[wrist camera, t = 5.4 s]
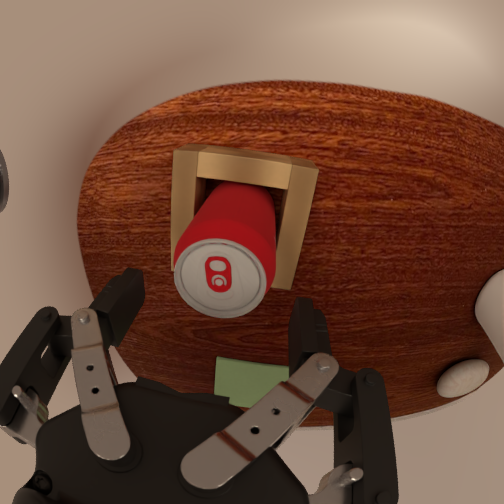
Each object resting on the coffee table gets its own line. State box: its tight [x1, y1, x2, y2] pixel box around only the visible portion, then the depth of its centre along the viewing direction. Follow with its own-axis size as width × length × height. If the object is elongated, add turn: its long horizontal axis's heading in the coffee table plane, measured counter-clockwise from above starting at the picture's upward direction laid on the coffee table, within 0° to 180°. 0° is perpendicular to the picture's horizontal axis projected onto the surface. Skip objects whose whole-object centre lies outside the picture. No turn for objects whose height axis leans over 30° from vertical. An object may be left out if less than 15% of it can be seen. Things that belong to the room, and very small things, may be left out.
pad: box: [214, 357, 289, 408], centre depth 39 cm, size 16×13×1 cm
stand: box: [171, 144, 319, 290], centre depth 24 cm, size 11×11×4 cm
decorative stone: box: [437, 359, 489, 397], centre depth 34 cm, size 13×9×5 cm
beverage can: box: [173, 180, 276, 318], centre depth 20 cm, size 6×6×12 cm
